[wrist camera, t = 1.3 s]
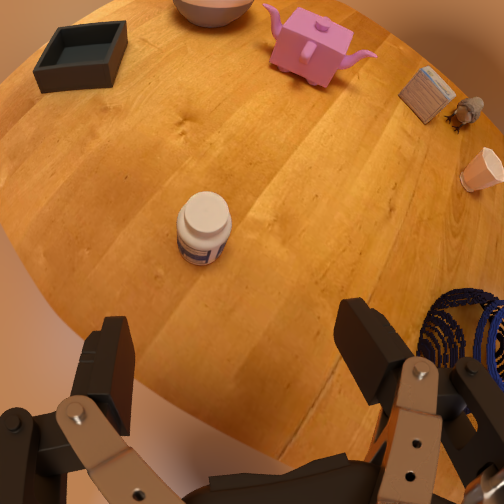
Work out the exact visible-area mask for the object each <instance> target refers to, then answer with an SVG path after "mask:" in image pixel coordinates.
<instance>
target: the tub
mask: <svg viewBox="0 0 504 504" xmlns="http://www.w3.org/2000/svg"><path fill="white" fill-rule="evenodd" d="M127 44H128V39H127V25H126V20H125V21H110V22H98V23H88V24H80V25H72V26H66V27H59V28H58V29H57V30H56V32H55V33H54V35H53V36H52V38H51V40H50V41H49V43H48V45H47V46H46V48H45V50H44V52H43V53H42V55H41V57H40V59H39V61H38V62H37V64H36V66H35V68H34V70H33V74H34V76H35V79H36V81H37V84H38V86H39V89H40V91H41V93H48V92H57V91H67V90H79V89H93V88H112V87H113V84H114V81H115V78H116V75H117V72H118V69H119V66H120V63H121V60H122V57H123V55H124V52H125V49H126V47H127Z"/></svg>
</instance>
